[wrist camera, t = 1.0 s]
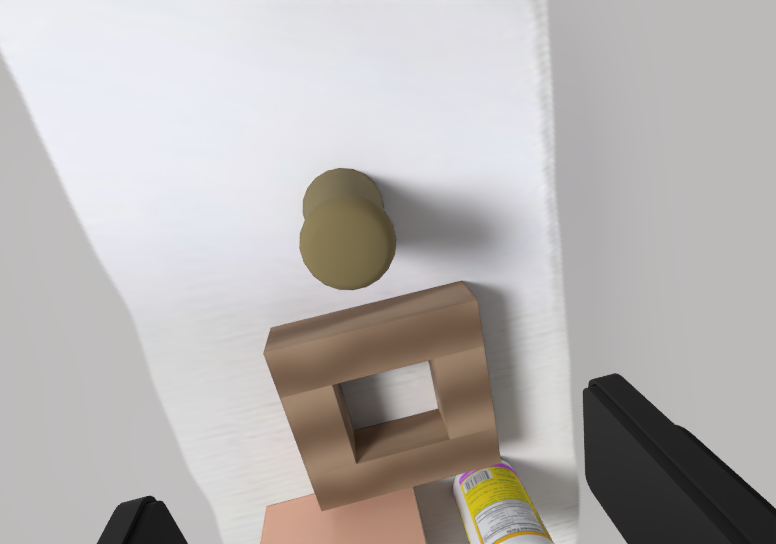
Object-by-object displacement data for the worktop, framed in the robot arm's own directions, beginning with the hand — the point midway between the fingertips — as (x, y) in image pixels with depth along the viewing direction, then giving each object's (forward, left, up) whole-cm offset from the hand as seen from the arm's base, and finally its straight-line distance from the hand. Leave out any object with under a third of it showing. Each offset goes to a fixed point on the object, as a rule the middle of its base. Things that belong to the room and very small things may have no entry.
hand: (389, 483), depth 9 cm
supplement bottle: (+29, +7, -25) cm, 38 cm away
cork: (-1, 0, -25) cm, 25 cm away
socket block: (+15, 0, -24) cm, 28 cm away
